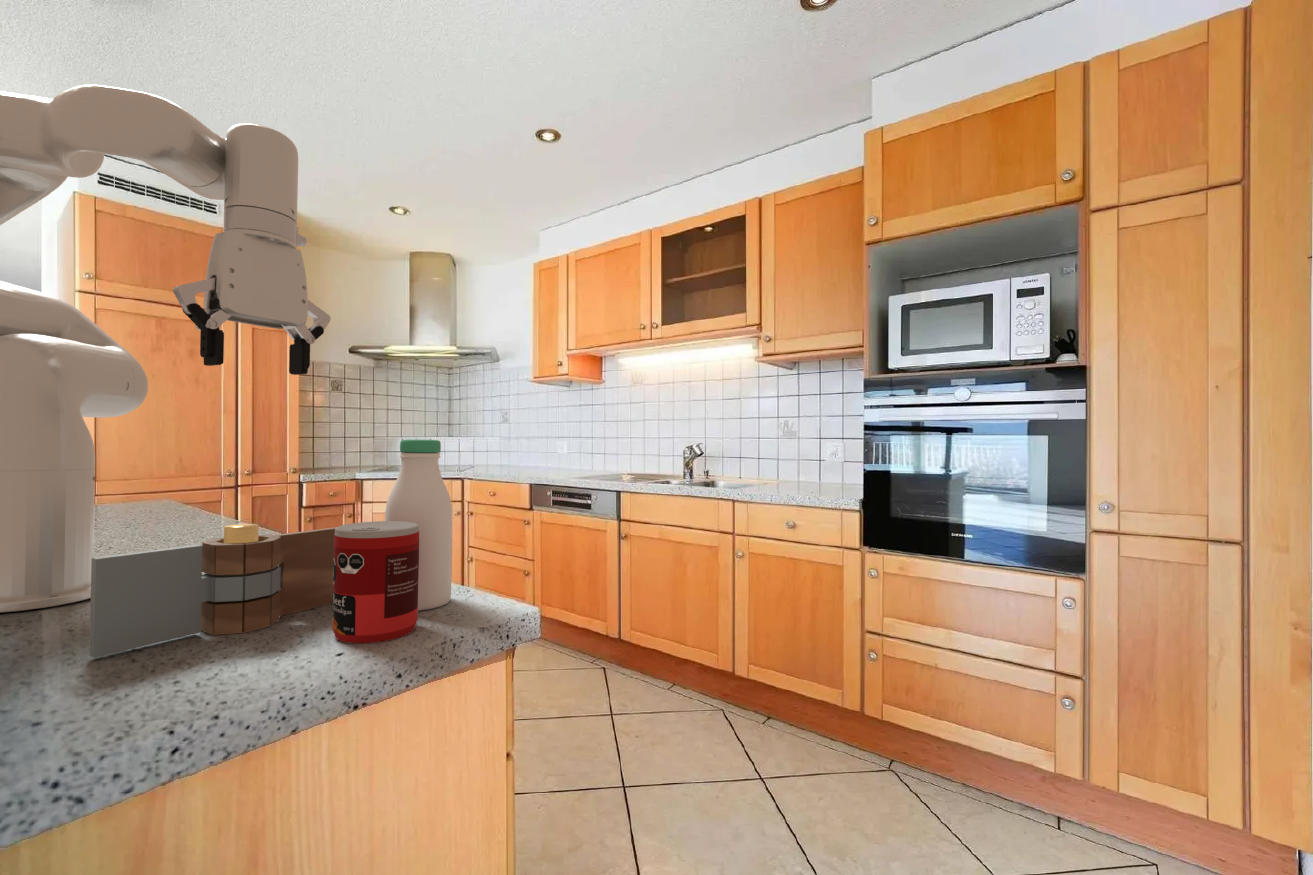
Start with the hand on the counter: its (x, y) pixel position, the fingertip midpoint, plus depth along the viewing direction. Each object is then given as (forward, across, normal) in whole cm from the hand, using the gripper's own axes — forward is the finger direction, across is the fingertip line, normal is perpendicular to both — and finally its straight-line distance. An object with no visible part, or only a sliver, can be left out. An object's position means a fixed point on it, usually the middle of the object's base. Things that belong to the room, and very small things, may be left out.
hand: (258, 369), depth 72 cm
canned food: (+28, 0, +24) cm, 37 cm away
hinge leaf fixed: (+28, +1, +10) cm, 30 cm away
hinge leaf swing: (+28, +10, +10) cm, 31 cm away
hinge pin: (+28, +6, +10) cm, 31 cm away
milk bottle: (+28, -9, +19) cm, 35 cm away
